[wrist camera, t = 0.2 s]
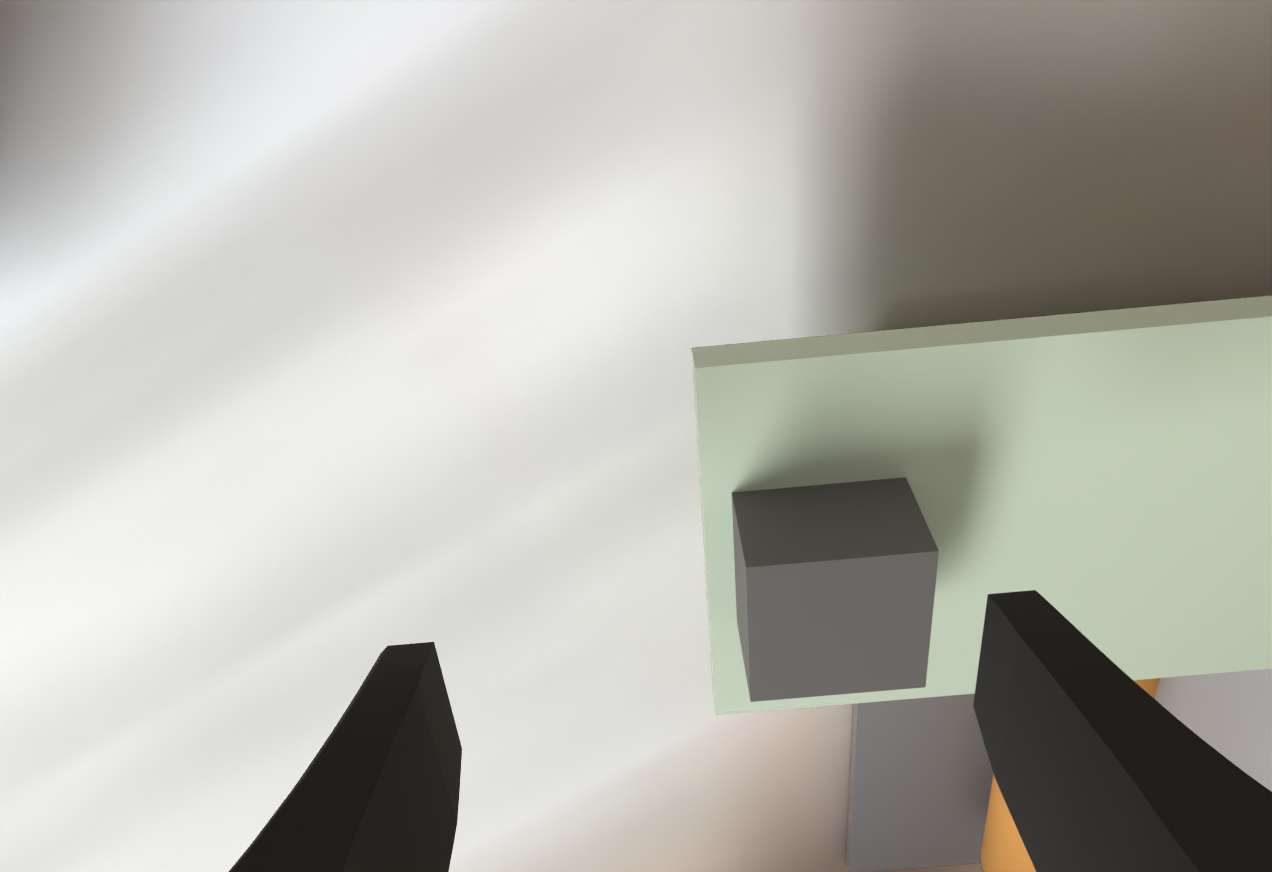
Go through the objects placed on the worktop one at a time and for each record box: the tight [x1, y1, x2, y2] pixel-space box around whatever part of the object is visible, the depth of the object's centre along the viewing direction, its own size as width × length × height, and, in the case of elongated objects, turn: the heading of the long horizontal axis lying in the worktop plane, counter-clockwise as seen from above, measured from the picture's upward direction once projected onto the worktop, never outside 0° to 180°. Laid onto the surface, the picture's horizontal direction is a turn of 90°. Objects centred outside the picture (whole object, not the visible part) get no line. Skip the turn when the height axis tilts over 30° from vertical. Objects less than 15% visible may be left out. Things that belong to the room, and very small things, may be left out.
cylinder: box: [981, 678, 1160, 872], centre depth 26 cm, size 10×3×3 cm, turn 5°
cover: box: [692, 295, 1272, 715], centre depth 18 cm, size 16×8×3 cm, turn 95°
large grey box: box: [846, 669, 1272, 872], centre depth 25 cm, size 18×15×4 cm
